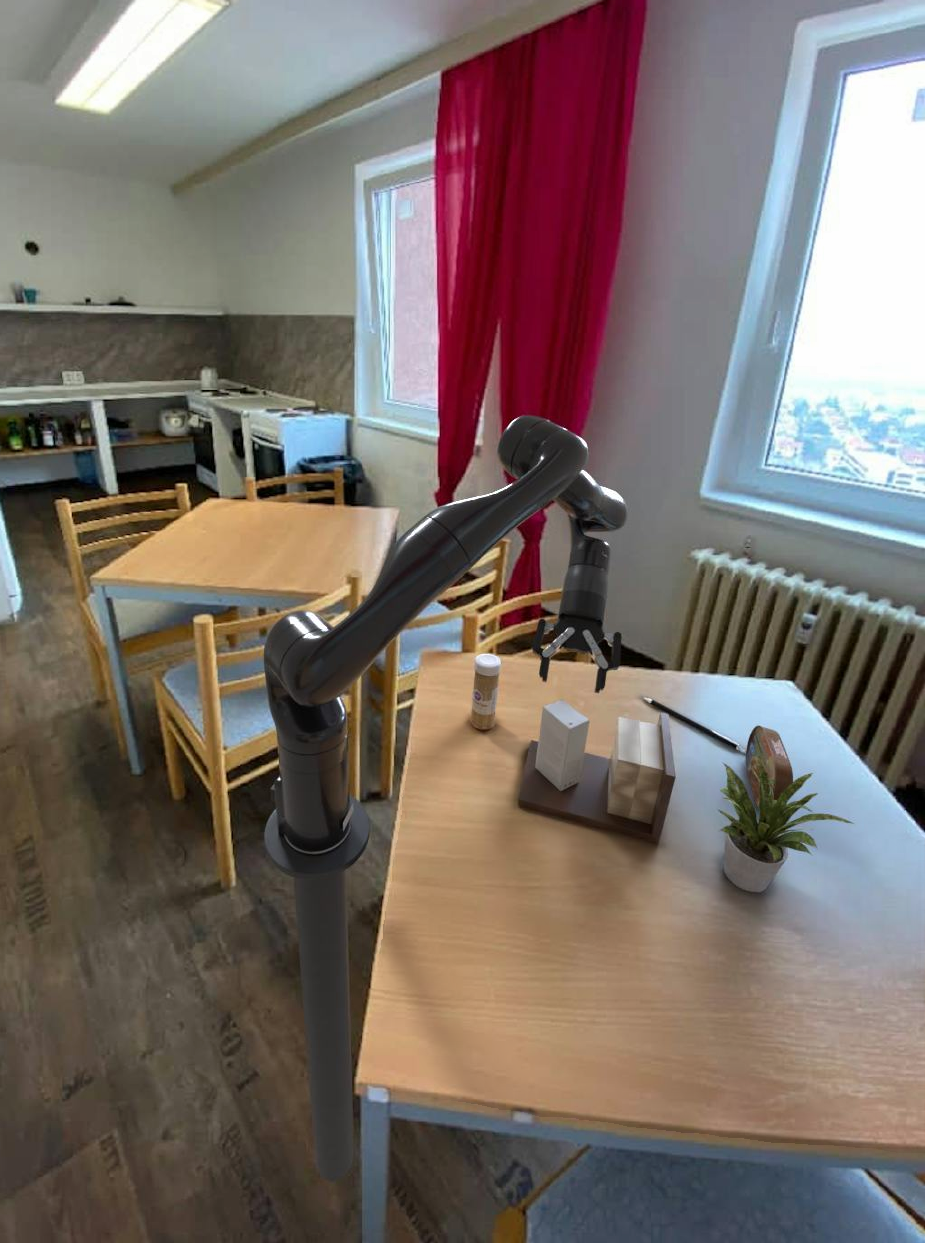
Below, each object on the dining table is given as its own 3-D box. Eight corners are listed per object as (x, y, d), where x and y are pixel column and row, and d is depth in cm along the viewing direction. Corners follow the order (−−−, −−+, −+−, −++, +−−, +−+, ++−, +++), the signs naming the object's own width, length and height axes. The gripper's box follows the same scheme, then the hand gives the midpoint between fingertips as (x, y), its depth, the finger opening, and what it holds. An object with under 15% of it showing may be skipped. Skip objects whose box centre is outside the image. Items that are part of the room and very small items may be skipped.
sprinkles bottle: (465, 724, 105) (470, 661, 100) (477, 711, 109) (482, 649, 104) (488, 734, 103) (494, 670, 98) (499, 720, 106) (505, 658, 101)
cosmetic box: (580, 782, 91) (591, 720, 86) (560, 792, 89) (570, 729, 85) (553, 758, 96) (562, 698, 91) (533, 767, 94) (541, 706, 89)
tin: (741, 754, 99) (754, 713, 96) (762, 758, 98) (775, 718, 95) (759, 821, 86) (774, 777, 83) (783, 827, 85) (799, 783, 82)
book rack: (517, 805, 88) (525, 741, 84) (530, 745, 100) (537, 686, 96) (658, 843, 82) (675, 777, 78) (654, 775, 94) (668, 713, 90)
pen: (744, 755, 99) (746, 750, 99) (642, 700, 113) (643, 695, 113) (746, 753, 100) (748, 747, 99) (644, 698, 114) (645, 693, 113)
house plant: (816, 861, 80) (853, 769, 74) (822, 949, 69) (867, 848, 63) (702, 817, 87) (727, 729, 80) (691, 891, 76) (719, 795, 69)
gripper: (542, 581, 101) (526, 673, 95) (629, 595, 97) (618, 691, 91) (543, 596, 108) (528, 682, 102) (624, 609, 103) (613, 700, 98)
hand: (570, 686), depth 97 cm, fingers open, 8 cm apart
